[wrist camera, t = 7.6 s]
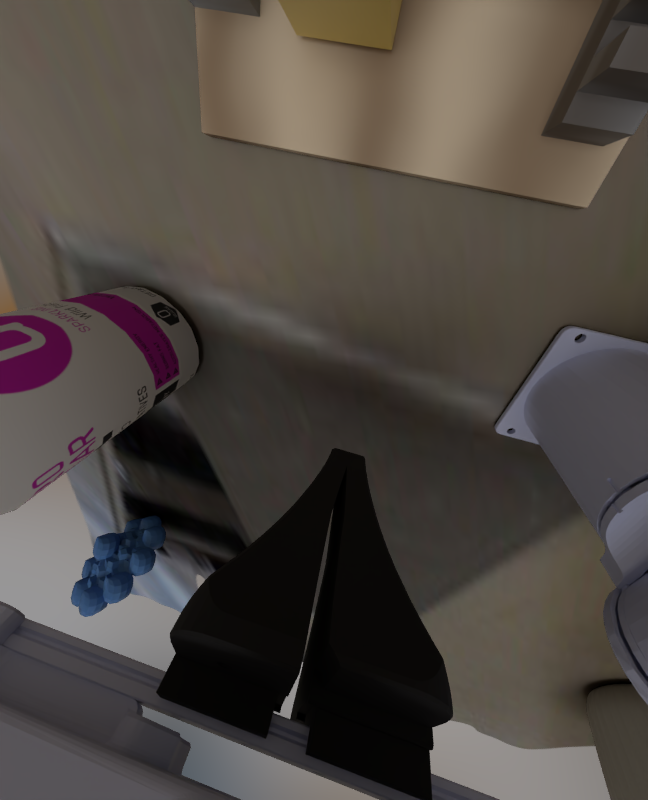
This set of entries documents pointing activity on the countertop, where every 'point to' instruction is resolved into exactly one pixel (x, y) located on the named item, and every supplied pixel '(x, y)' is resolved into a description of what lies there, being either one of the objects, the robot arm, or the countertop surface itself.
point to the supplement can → (82, 379)
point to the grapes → (117, 564)
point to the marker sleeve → (345, 20)
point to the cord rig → (438, 90)
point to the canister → (620, 739)
